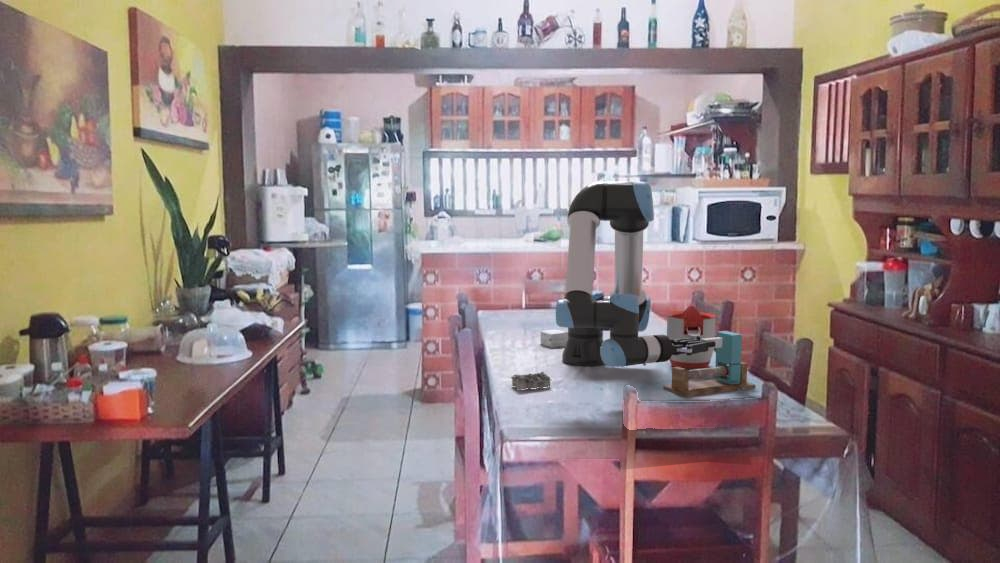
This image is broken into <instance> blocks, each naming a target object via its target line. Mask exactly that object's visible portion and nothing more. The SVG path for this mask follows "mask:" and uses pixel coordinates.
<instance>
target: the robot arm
mask: <svg viewBox="0 0 1000 563" xmlns="http://www.w3.org/2000/svg"><path fill="white" fill-rule="evenodd" d="M653 200H654V199H653V193H652V187H651V185H650V183H649V182H647V181H637V180H633V181H603V180H599V181H595V182H594V181H593V182H591V183H589V184H587V185H586V186H584V187H583V188H582V189H581V190H579V192H578V193H577V194H576V195H575V196H574V198H573V200H572V201H571V203H570V205H569V208H568V212H567V218H566V220H567V221H566V222H567V225H568V227H569V237H568V238H569V239H568V250H567V252H568V254H567V263H566V278H565V287H564V298H562V299H558V300H557V301H556V304H555V323H556V325H557V326H558V327H559V328H560V327H562V328H567V332H568V339H567V342H566V345H565V346H564V348H563V351H562V354H561V356H562V357H561V358H562V360H561V361H562V362H563V363H565V364H569V365H573V366H581V367H582V366H583V367H584V366H586V367H587V366H588V367H589V366H590V367H591V366H593V367H594V366H601V365H605V366H607V367H609V368H612V367H613V368H614V367H615V368H616V367H620V368H621V367H622V368H623V367H628V366H629V367H630V366H634V365H635V366H637V365H642V366H645V367H646V366H647V364H654V363H655V364H656V363H664V362H668V361H670V360H669V359H670V358H671V356H672V355H679V354H685V353H686V355H688V356H689V355H692V354H695V353H700V352H706V351H708V349H711V348H714V349H716V348H720V347H722V341H723V338H720V337H717V336H716V337H715V338H705V339H701V340H700V337H699V336H697V339H694V338H680V339H669V338H668V337H667V334H654V335H650V334H649V335H640V336H639V332H640V333H641V332H644V331H645V330H646V329H647V327H648V325H649V321H650V314H651V300H652V299H651V297H650V296H647V294H646V291H645V290H644V289H643V287H642V286H643V260H644V259H643V257H644V253H643V252H644V231H645V230H646V229H648V227H649V224H650V223H651V222H653V221H654V219H655V212H654V202H653ZM601 221H604V222H606V221H607V222H609V226H610V228H611V229H612V230H614V288H613V289H611V291H610V294H609V295H605V293H604V291H602V290H593V289H594V275H595V274H594V272H595V270H594V269H595V255H596V254H595V252H596V238H597V237H596V235H597V229H598V228H599V226H600V225H601ZM604 332H609V338H608V339H605V340H604Z"/></svg>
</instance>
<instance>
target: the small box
mask: <svg viewBox="0 0 1000 563" xmlns="http://www.w3.org/2000/svg"><path fill="white" fill-rule="evenodd" d="M567 339H568V331H565V330H561V329H547V330H541V331H540V345H543V346H545V347H549V348H557V347H559V346H560V347H565V345H566V342H567Z"/></svg>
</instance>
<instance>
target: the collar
mask: <svg viewBox="0 0 1000 563" xmlns="http://www.w3.org/2000/svg"><path fill="white" fill-rule="evenodd" d="M716 337H720V338H723V341H722V347H720V348H715V367H720V366H728V365H729V375H727V376H719V377H714V379H715V380H718V381H721V382H724V383H727V384H730V385H732V384H740V373H741V362H742V342H743V339H742V338H743V334H740V333H738V332H732V331H730V330H720V331H719V330H718V331H716Z"/></svg>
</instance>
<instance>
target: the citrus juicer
mask: <svg viewBox="0 0 1000 563" xmlns="http://www.w3.org/2000/svg"><path fill="white" fill-rule="evenodd" d="M666 316H667V317H666V336H667V337H668V338H669V339H680V338H694V339H697V336H699V337H700V340H701V339H705V338H716V337H715V335H716V318H717V315H716V314H713V313H710V312H704V311H699V310H698V309H697V308H696V307H695V306H694V305H692V304H690V305H689V306H687V307H686V308H685V310H681V311H670V312H667V313H666ZM714 350H715V348H711V349H708V351H706V352H700V353H695V354H692V355H689V356H688V355H686V353H685V354H679V355H672V356H671V358H670V359H669V360H668V361H670V364H671V366H672V367H680V368H684V369H686V370H694V369H702V368H709V366H710V363H711V360H712V356H713V353H714Z"/></svg>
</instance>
